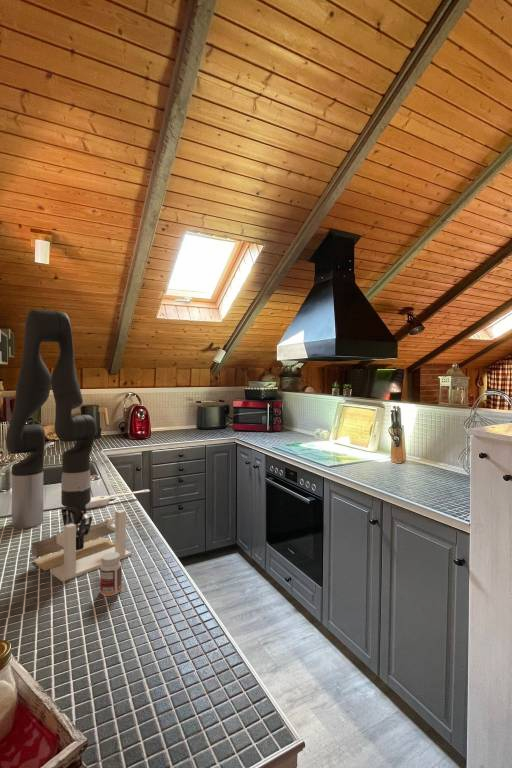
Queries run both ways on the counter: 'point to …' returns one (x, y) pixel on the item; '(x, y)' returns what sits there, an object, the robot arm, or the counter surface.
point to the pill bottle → (110, 574)
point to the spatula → (107, 499)
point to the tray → (88, 549)
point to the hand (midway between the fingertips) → (76, 547)
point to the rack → (92, 561)
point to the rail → (51, 546)
